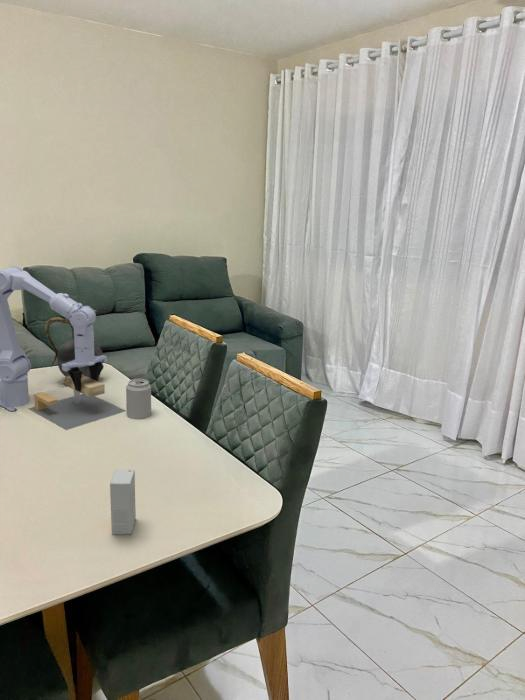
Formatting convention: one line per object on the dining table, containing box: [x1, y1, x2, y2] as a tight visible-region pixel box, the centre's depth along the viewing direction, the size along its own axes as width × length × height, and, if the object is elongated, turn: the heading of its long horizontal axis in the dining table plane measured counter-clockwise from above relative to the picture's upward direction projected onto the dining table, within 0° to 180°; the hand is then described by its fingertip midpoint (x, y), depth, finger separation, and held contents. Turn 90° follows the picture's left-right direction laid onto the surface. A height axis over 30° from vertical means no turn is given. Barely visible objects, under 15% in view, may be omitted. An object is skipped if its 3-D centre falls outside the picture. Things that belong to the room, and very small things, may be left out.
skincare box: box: [109, 468, 137, 535], centre depth 113 cm, size 6×4×12 cm
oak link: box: [64, 375, 106, 397], centre depth 170 cm, size 14×5×3 cm, turn 50°
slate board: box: [28, 389, 127, 431], centre depth 170 cm, size 22×21×6 cm
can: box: [125, 378, 152, 420], centre depth 168 cm, size 8×8×12 cm
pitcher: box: [44, 308, 104, 378], centre depth 192 cm, size 11×19×30 cm, turn 107°
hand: (86, 388), depth 169 cm, fingers closed on oak link, 5 cm apart
